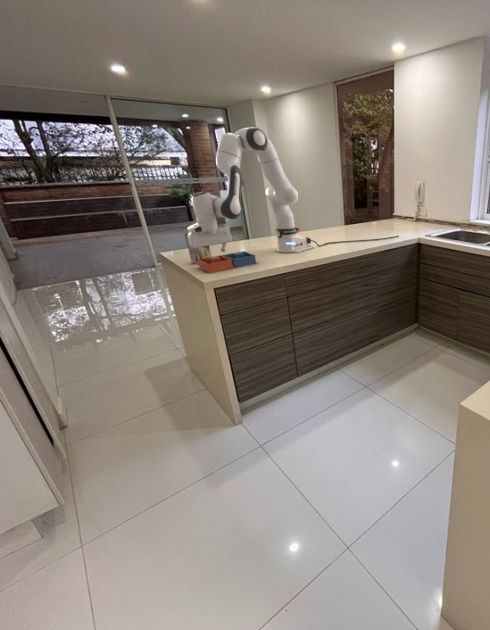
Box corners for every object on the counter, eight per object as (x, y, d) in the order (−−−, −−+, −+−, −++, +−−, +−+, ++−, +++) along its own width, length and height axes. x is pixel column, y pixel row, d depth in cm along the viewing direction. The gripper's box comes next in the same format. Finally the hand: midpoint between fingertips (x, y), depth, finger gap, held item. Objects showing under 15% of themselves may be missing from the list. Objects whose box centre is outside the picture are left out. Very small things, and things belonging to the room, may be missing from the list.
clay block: (218, 265, 181) (216, 256, 179) (222, 266, 178) (220, 257, 176) (209, 267, 178) (207, 257, 176) (213, 268, 175) (211, 259, 173)
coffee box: (202, 259, 195) (196, 230, 188) (212, 259, 193) (206, 231, 187) (191, 263, 186) (184, 234, 180) (201, 264, 185) (194, 234, 179)
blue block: (242, 260, 190) (240, 251, 188) (246, 262, 187) (244, 253, 185) (233, 262, 186) (231, 253, 184) (237, 263, 183) (235, 254, 181)
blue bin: (245, 259, 195) (243, 251, 193) (256, 263, 187) (255, 255, 185) (224, 263, 187) (222, 255, 185) (234, 267, 179) (233, 259, 177)
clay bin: (222, 263, 186) (220, 255, 184) (233, 268, 178) (231, 259, 176) (199, 268, 178) (197, 259, 176) (209, 273, 170) (207, 264, 168)
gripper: (225, 222, 178) (231, 248, 184) (184, 228, 164) (191, 256, 170) (231, 223, 174) (236, 250, 180) (188, 230, 161) (196, 258, 167)
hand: (214, 253), depth 175 cm, fingers open, 8 cm apart
